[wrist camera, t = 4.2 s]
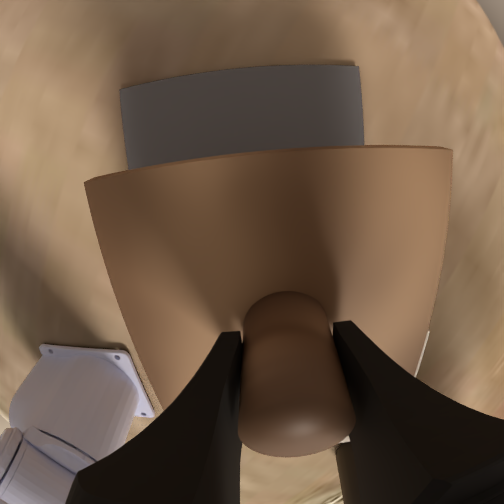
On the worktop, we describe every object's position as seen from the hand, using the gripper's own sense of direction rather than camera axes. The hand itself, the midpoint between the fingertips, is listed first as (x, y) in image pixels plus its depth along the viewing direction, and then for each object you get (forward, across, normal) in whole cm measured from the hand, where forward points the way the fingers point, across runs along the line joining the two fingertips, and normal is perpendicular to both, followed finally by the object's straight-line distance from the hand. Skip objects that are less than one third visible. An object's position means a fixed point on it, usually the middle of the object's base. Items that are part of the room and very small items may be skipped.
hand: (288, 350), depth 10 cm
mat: (+9, +1, -4) cm, 10 cm away
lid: (+2, 0, 0) cm, 2 cm away
